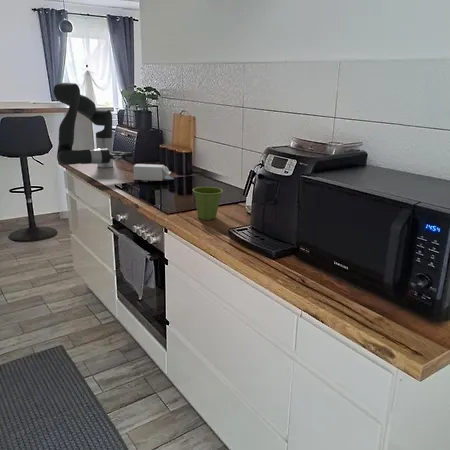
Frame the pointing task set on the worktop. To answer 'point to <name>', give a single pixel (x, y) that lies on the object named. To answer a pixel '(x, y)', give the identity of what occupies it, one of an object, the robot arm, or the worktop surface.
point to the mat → (162, 180)
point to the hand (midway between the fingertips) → (132, 154)
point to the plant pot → (207, 201)
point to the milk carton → (150, 172)
